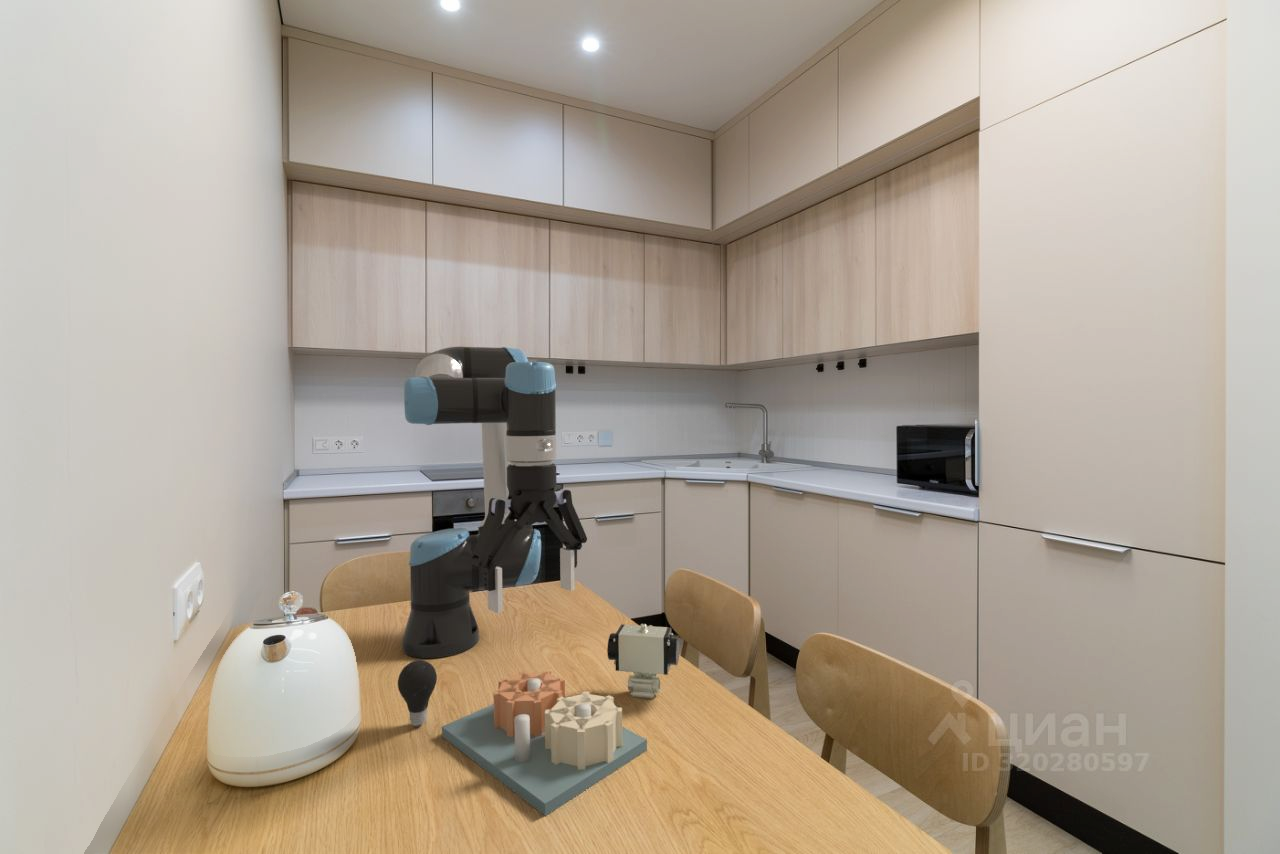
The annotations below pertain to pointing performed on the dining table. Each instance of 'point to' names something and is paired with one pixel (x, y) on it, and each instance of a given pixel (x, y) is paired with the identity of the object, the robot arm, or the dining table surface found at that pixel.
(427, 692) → the light bulb
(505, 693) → the loose gear
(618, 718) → the gear board
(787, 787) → the dining table surface
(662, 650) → the pneumatic valve
